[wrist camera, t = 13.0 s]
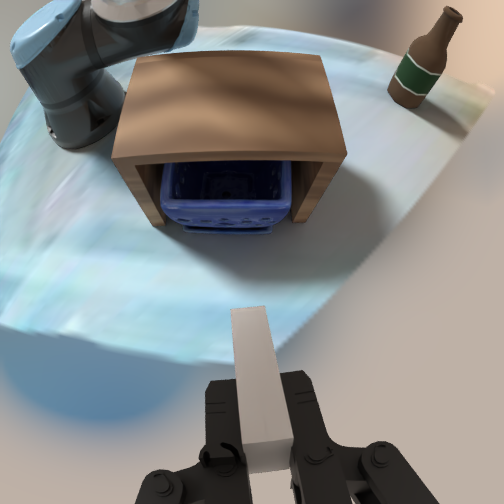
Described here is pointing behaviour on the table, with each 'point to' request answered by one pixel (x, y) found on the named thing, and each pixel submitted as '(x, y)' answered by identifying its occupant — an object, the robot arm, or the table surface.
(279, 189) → the flower pot
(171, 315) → the table surface
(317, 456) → the robot arm
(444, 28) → the beer bottle
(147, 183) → the shelf
